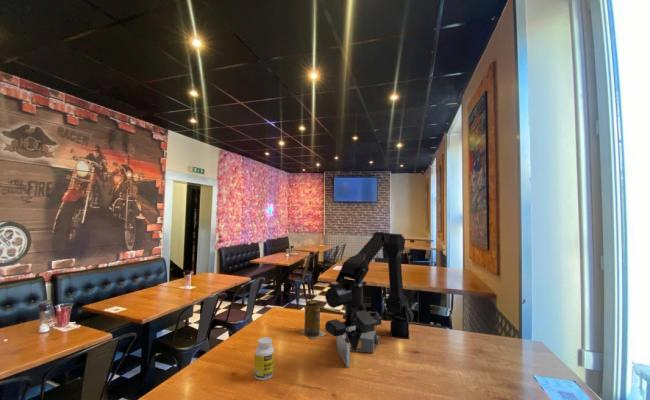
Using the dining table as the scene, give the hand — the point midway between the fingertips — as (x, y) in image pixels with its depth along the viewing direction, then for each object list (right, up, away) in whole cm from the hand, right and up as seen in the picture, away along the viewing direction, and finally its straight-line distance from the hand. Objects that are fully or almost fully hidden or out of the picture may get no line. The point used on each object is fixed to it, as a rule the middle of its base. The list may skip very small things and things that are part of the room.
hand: (354, 350), depth 85 cm
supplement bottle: (-27, -2, -9) cm, 28 cm away
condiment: (-14, -5, +20) cm, 25 cm away
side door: (-4, -3, +1) cm, 5 cm away
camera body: (+2, -4, +10) cm, 11 cm away
